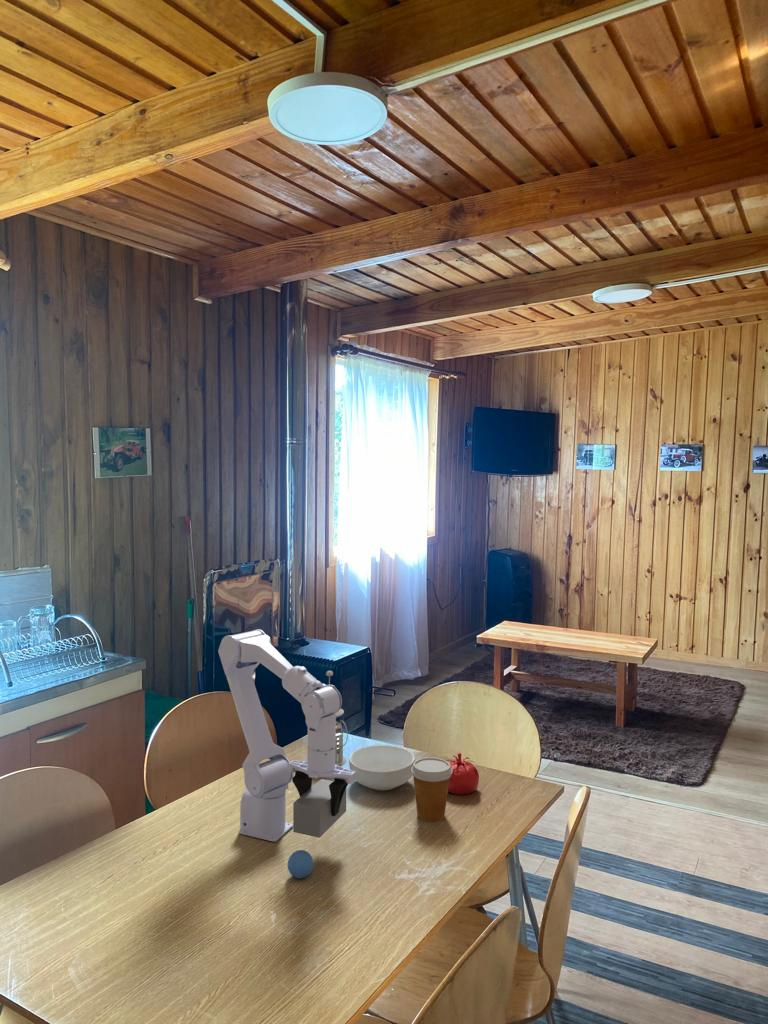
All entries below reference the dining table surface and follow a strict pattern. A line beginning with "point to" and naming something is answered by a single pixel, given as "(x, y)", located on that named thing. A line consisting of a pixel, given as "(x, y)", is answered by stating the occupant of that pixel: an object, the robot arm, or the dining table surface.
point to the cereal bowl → (381, 766)
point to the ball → (300, 864)
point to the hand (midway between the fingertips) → (320, 810)
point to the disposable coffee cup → (431, 787)
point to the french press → (338, 752)
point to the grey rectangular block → (316, 810)
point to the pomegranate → (463, 776)
